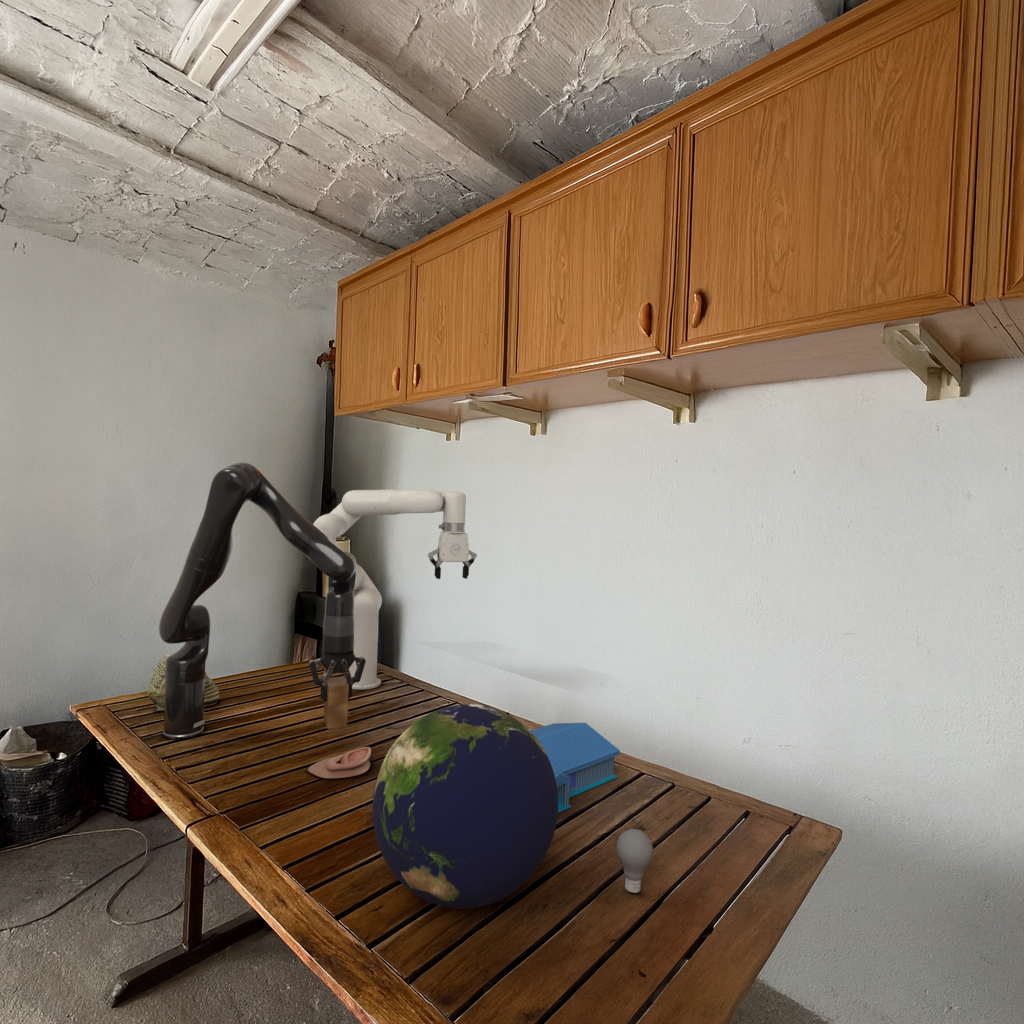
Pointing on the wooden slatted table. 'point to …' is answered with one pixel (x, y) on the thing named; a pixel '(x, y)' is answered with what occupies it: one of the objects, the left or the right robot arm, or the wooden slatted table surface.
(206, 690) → the fossil
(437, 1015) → the wooden slatted table surface
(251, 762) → the wooden slatted table surface
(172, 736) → the left robot arm
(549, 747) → the model building
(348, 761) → the anatomical model
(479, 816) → the globe
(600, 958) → the wooden slatted table surface
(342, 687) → the brick
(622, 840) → the light bulb
